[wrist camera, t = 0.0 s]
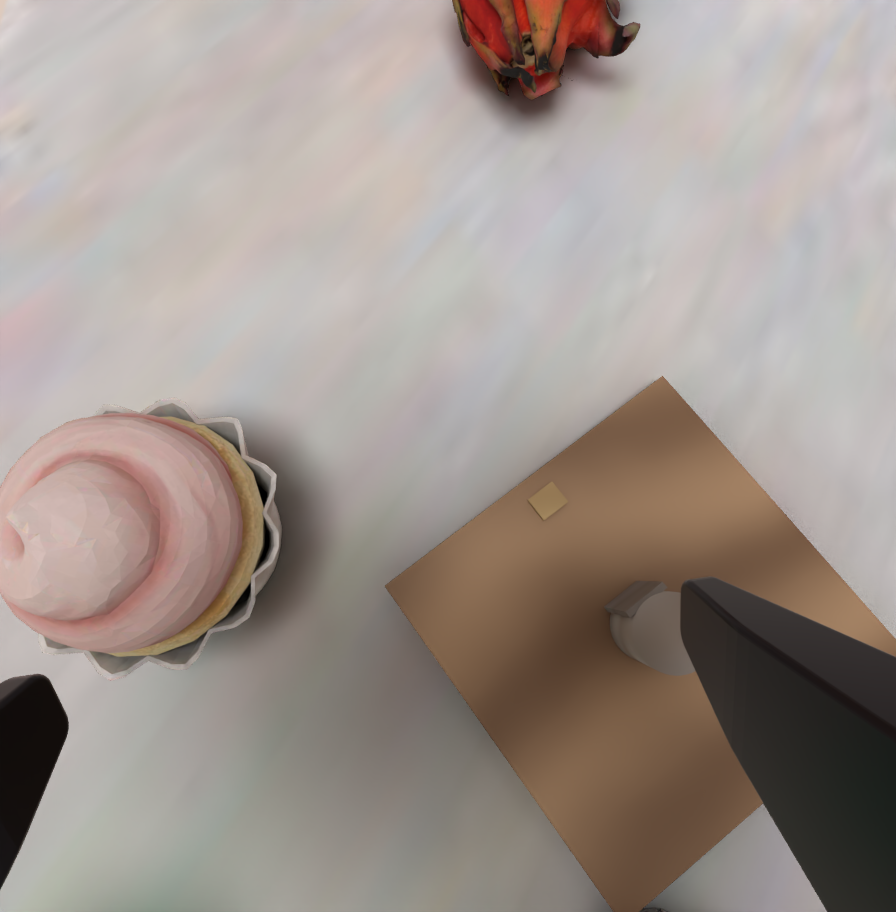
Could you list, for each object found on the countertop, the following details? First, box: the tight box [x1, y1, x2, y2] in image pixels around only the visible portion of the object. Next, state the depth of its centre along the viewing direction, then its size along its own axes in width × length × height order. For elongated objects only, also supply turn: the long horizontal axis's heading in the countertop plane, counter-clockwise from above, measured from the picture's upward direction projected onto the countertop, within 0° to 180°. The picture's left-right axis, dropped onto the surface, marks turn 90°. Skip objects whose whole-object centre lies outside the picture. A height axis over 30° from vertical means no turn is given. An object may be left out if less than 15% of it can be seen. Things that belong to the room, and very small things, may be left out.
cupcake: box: [0, 398, 282, 681], centre depth 18 cm, size 9×9×10 cm
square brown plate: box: [385, 376, 896, 912], centre depth 20 cm, size 14×14×4 cm
